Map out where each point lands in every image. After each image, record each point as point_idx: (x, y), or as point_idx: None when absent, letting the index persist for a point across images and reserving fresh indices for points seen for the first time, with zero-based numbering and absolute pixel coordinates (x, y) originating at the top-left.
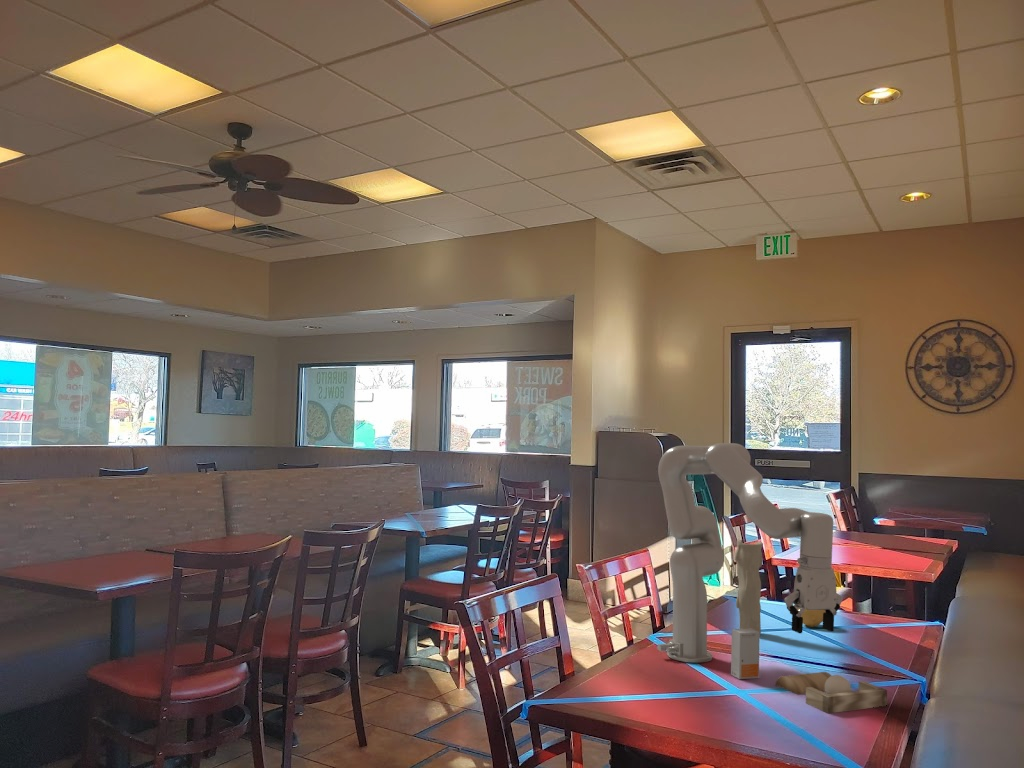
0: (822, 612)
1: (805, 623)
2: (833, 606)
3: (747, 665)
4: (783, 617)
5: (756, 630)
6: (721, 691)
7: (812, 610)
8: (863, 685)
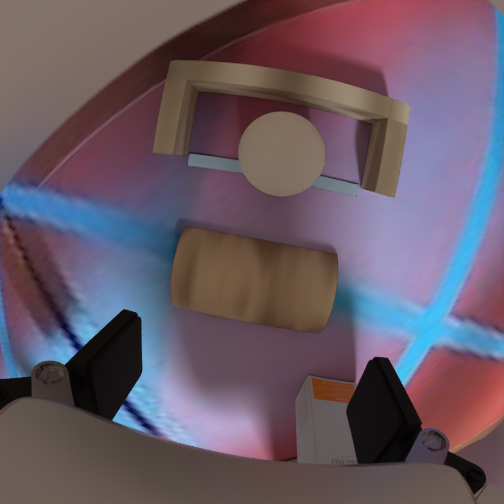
0: None
1: None
2: (45, 411)
3: (343, 401)
4: None
5: None
6: (449, 339)
7: None
8: (178, 133)
